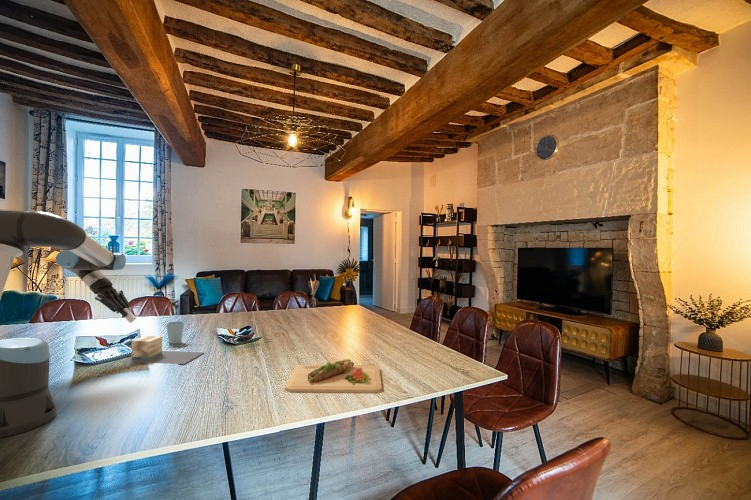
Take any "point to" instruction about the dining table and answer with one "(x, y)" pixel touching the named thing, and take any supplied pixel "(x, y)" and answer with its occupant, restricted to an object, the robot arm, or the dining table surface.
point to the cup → (175, 331)
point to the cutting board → (335, 378)
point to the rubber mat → (169, 358)
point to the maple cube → (146, 347)
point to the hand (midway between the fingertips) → (133, 320)
